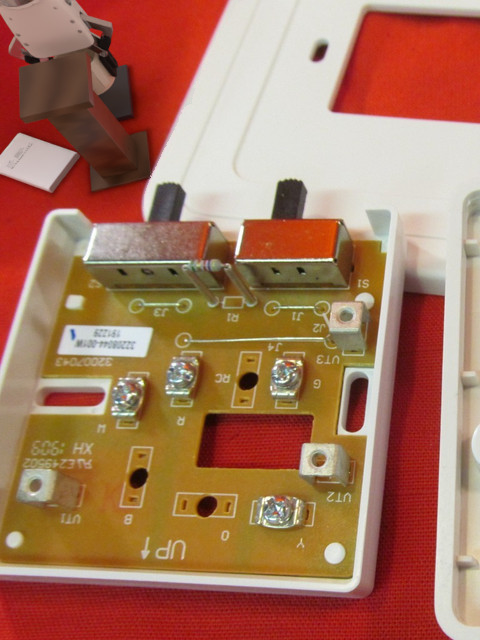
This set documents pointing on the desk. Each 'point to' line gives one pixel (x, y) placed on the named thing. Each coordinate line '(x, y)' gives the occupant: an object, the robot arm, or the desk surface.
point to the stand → (83, 120)
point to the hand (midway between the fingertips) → (90, 76)
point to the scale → (120, 95)
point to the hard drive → (36, 162)
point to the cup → (95, 71)
